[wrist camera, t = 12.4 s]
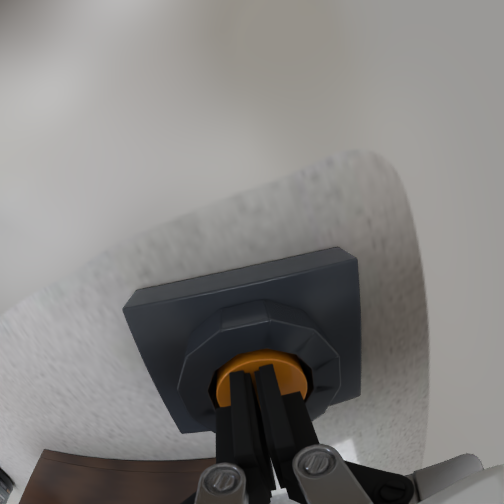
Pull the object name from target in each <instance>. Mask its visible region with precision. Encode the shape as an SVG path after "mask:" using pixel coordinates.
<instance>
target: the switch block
mask: <svg viewBox="0 0 504 504" xmlns="http://www.w3.org/2000/svg"><path fill="white" fill-rule="evenodd" d="M123 313H124V315H125V318H126V321H127V323H128V326H129V328H130V331H131V333H132V335H133V338H134V340H135V343H136V345H137V347H138V350H139V352H140V354H141V356H142V359H143V361H144V363H145V365H146V367H147V369H148V372H149V374H150V376H151V378H152V380H153V382H154V384H155V386H156V388H157V390H158V392H159V394H160V396H161V398H162V400H163V402H164V403H165V405H166V407H167V409H168V411H169V413H170V415H171V416H172V418H173V420H174V422H175V423H176V425H177V427H178V429H179V430H180V432H181V433H182V434H184V433H195V432H205V431H212V432H214V433H216V408H219V407H220V405H219V403H218V401H217V396H216V381H217V369H219V368H220V367H222V366H223V365H224V364H226V363H227V362H228V361H230V360H231V359H232V358H234V357H235V356H236V355H238V354H243V353H248V352H253V351H258V350H262V349H271V350H276V351H280V352H285V353H290V354H295V355H296V356H297V358H298V360H299V362H300V365H301V367H302V370H303V372H304V375H305V377H306V380H307V393H306V396H305V398H304V402H305V405H306V408H307V411H308V413H309V416H310V419H311V421H313V420H315V419H316V418H318V417H319V416H321V415H322V414H324V412H325V411H326V409H327V407H328V406H331V405H334V404H337V403H340V402H344V401H347V400H350V399H353V398H355V397H358V396H360V393H361V308H360V288H359V273H358V261H357V258H356V257H354V256H353V255H351V254H349V253H348V252H346V251H345V250H343V249H341V248H340V247H334V248H330V249H326V250H321V251H317V252H312V253H308V254H304V255H299V256H295V257H290V258H286V259H281V260H277V261H272V262H268V263H263V264H258V265H254V266H249V267H245V268H240V269H235V270H231V271H226V272H221V273H217V274H212V275H207V276H203V277H198V278H193V279H188V280H184V281H179V282H174V283H169V284H164V285H159V286H155V287H150V288H145V289H140V290H136V291H135V292H134V294H133V295H132V296H131V298H130V299H129V300H128V302H127V303H126V304H125V306H124V307H123Z"/></svg>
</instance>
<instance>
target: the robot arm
mask: <svg viewBox="0 0 504 504" xmlns="http://www.w3.org/2000/svg"><path fill="white" fill-rule="evenodd" d="M254 375H255V380H256V386H257V392H258V398H259V403H260V407H259V404H258V400H257V397H256V393H255V389H254V386H253V382H252V379H251V375H250V373H244V370H241V371H236V372H231V373H229V380H230V400H231V406H226V407H219V408H216V464H214V465H211V466H210V467H208V468H207V469H205V470H204V472H203V473H202V474H201V476H200V479H199V483H198V488H197V491H196V492H194V493H193V494H192V495H191V496H189V497H188V498H187V499H186V500H184V501H183V502H182V503H180V504H269V503H270V502H271V501H270V498H272V494H271V491H272V490H276V485H275V480H274V475H273V470H272V464H273V467H274V470H275V473H276V476H277V479H278V482H279V485H280V487H281V489H283V488H286V490H287V493H288V496H289V499H291V500H294V501H296V502H298V503H300V504H504V464H502V465H497V466H494V467H491V468H487V469H483V466H482V463H481V461H480V459H479V458H478V457H477V456H475V455H473V454H463V455H460V456H457V457H455V458H452V459H449V460H447V461H444V462H441V463H438V464H436V465H432V466H429V467H426V468H423V469H420V470H416V471H414V472H413V474H409V475H405V476H403V475H400V474H395V473H390V472H386V471H382V470H377V469H373V468H370V467H366V466H362V465H358V464H355V463H351V462H348V461H345V460H343V459H342V457H341V456H340V454H339V453H338V452H337V451H336V450H335V449H334V448H333V447H331V446H329V445H323V444H319V441H318V438H317V435H316V433H315V430H314V427H313V424H312V422H311V419H310V416H309V413H308V411H307V408H306V405H305V402H304V400H303V397H302V394H301V392H300V391H297V392H294V393H290V394H285V395H281V392H280V389H279V385H278V381H277V378H276V374H275V370H274V367H273V364H269V365H265V366H260V367H259V371H254ZM260 409H261V411H260ZM270 458H271V459H270ZM271 461H272V464H271Z"/></svg>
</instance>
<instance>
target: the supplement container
mask: <svg viewBox="0 0 504 504" xmlns="http://www.w3.org/2000/svg"><path fill="white" fill-rule="evenodd" d="M12 491H13V484H12V482H11V481H10V479H9V478H8V477H7V475H6V474H5V473H4V472H3V471H2V470H1V469H0V504H6V503H7V500H8V498H9V496H10V494H11V492H12Z"/></svg>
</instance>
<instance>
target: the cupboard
mask: <svg viewBox="0 0 504 504" xmlns="http://www.w3.org/2000/svg"><path fill="white" fill-rule="evenodd" d="M214 464H216V458H211V459H200V460H184V461H128V460H112V459H101V458H92V457H84V456H77V455H71V454H65V453H59V452H54V451H49V450H43V452H42V454H41V456H40V458H39V460H38V462H37V464H36V466H35V469H34V471H33V473H32V475H31V477H30V479H29V481H28V484H27V486H26V488H25V490H24V493H23V495H22V497H21V500H20V502H19V504H180V503H182V502H183V501H184V500H186V499H187V498H188V497H189V496H191V495H192V494H193V493H194V492H196V491H197V488H198V483H199V479H200V476H201V474H202V473H203V472H204V470H205V469H207V468H208V467H210V466H211V465H214Z"/></svg>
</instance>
